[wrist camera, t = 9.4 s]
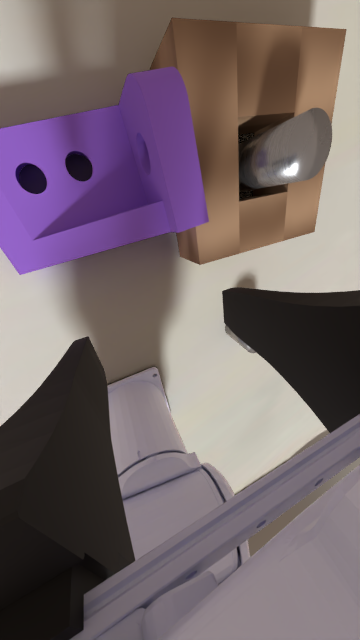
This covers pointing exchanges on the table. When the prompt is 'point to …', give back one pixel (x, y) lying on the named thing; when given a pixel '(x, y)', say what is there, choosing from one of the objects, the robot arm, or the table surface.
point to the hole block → (249, 122)
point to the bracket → (103, 175)
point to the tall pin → (286, 151)
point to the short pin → (238, 340)
